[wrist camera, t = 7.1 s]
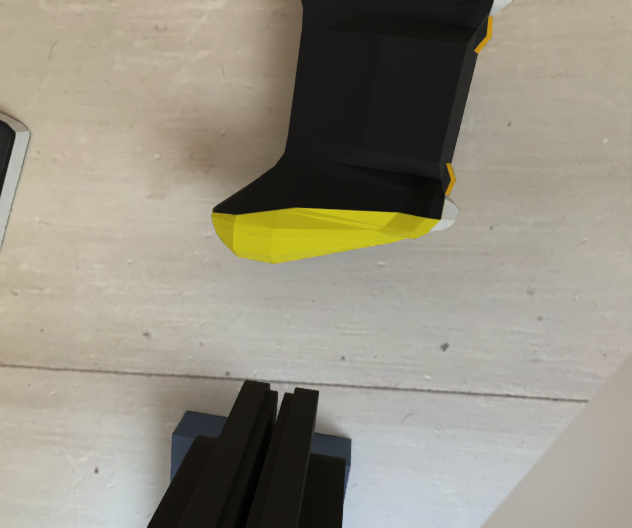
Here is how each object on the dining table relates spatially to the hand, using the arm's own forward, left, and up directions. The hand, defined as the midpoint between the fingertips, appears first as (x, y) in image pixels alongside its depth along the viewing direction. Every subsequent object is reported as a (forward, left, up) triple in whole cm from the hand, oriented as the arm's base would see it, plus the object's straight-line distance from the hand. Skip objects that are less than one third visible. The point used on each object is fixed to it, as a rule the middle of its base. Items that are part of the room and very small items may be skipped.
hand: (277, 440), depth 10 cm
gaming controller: (0, -8, -14) cm, 16 cm away
